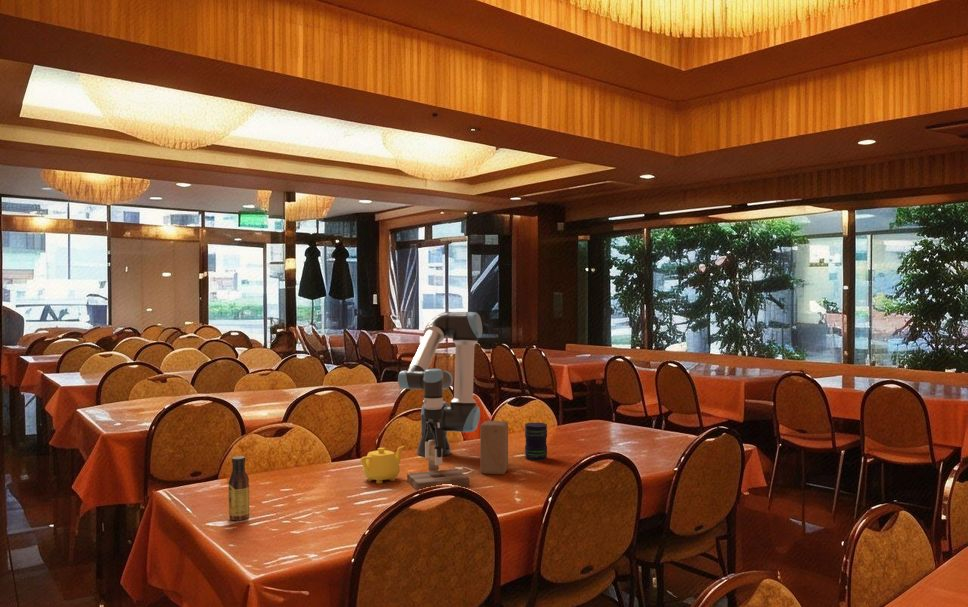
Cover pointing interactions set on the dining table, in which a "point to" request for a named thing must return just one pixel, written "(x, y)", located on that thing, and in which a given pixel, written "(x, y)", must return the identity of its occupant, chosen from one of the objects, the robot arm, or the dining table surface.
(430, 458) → the peg
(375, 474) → the teapot
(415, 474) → the board
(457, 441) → the dining table surface
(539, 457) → the storage jar
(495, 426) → the wooden block
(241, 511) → the sauce bottle
